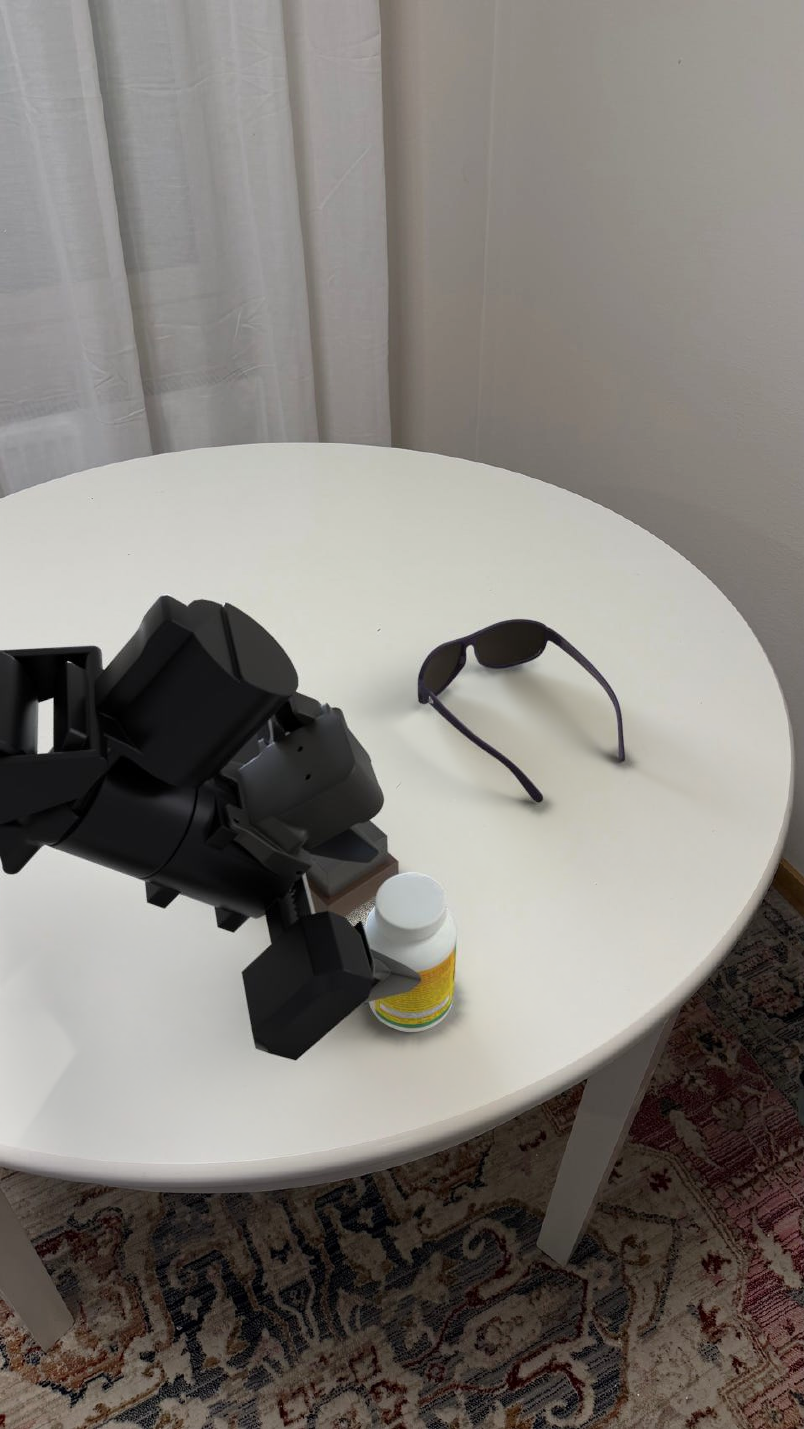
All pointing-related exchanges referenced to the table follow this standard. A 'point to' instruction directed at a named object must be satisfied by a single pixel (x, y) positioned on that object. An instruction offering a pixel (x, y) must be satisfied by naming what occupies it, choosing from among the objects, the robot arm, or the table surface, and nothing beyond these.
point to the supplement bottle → (415, 949)
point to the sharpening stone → (350, 876)
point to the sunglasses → (498, 650)
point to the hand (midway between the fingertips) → (393, 916)
